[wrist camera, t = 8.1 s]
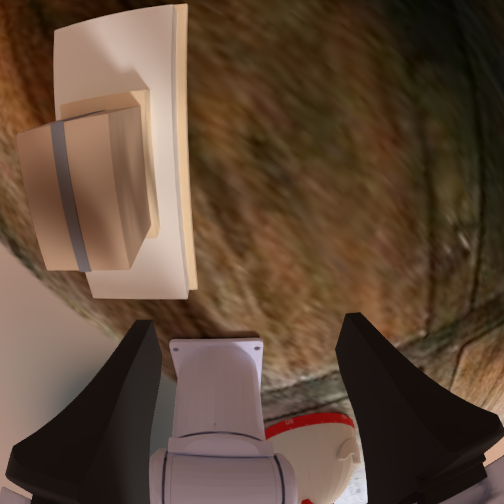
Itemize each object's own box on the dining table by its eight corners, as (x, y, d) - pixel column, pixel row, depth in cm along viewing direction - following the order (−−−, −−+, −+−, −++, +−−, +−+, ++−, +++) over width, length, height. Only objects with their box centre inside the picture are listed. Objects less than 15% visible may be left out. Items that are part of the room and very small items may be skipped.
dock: (188, 6, 13) (182, -5, 11) (197, 284, 22) (195, 304, 20) (65, 29, 12) (48, 25, 10) (98, 285, 22) (89, 303, 20)
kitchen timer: (293, 459, 42) (306, 536, 29) (235, 440, 36) (242, 538, 23) (367, 425, 38) (393, 510, 25) (321, 401, 32) (349, 515, 19)
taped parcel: (160, 228, 17) (137, 286, 13) (88, 231, 17) (48, 284, 12) (150, 89, 13) (111, 91, 9) (70, 102, 13) (10, 116, 8)
